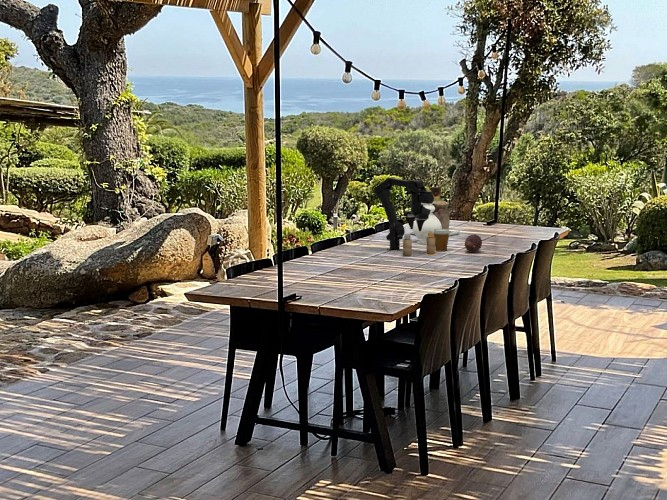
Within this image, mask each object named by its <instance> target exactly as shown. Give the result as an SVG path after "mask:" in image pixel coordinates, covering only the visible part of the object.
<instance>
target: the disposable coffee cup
mask: <svg viewBox="0 0 667 500" xmlns="http://www.w3.org/2000/svg"><path fill="white" fill-rule="evenodd" d="M449 231H450V229H449V230H448V229H434V232H433V233H434V237H435V252H447V250H448V245H449V237H450V236H449V233H450V232H449Z"/></svg>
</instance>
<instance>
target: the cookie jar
mask: <svg viewBox="0 0 667 500" xmlns="http://www.w3.org/2000/svg"><path fill="white" fill-rule="evenodd" d="M426 190H427V189H426ZM429 191H431V192H432V194H433V196H434V201H433V202H434V203H433V204H432V205H433V206H434V207H435V210H434V211H433V212H432V213H433V214H434V215H435V216H436V217H437V218H438V220H439V221H440V223H441V226H442V229H448V230H449V232H450V233H449V237H450V236H454V235H459V234H460V233H461V230H455V231H454V230H451V231H450V224H451V223H450V214H449V213H450V212H449V206H450V202H447V201H445V200H443V199H442V198H441V197H442V194H443V193H442V185H439V186H432V187H429V188H428V190H427V192H429ZM421 204H422V203H421ZM422 205H423V204H422ZM409 234H410V235H415V234H414V232H409Z"/></svg>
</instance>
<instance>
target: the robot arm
mask: <svg viewBox="0 0 667 500" xmlns="http://www.w3.org/2000/svg"><path fill="white" fill-rule="evenodd" d="M393 186H395V187H400V188H401V187H402V188H406V189H407V190H409V191H408V192H407V194H408V195H410V204H409V207H410V210H405V211H404V212H403V217H404V218H405V219H406V222H407V224H408V226H409V228H410V230H412V229H413V224H414V221H415V220H416V222H417V226H418V230H419V231H421V229H422V226H423V224H424V222H425V221H426V220H427V219H429V214H430V211H431V210H430V209H427V208H425V207H424V206H423V205H422V203H427V204H432V203H433V201H434V196H433V194H432V192H431V191H429V192H427V189H426V187H425V185H424V182H423V181H422V180H421V179H413V180H408V179H400V178H396V177H395V178H394V177H387V178H386V179H385V180H384V181H382V182H381V183H379V184H378V185H376V186H375V188H374V191H373V192H374V194H375V196H376V197H377V198H378V200H380V201H381V204H382V207H383V209H384V212H385V215H386V218H387V220H388V223H389V225H388V231H389V232H388V234H387V235H386V237H385V238H386V240H387V241H389V248H387V249H386V250H388V251H389V252H392V251H403V248H402V249H401V248H400V240H403V239H404V235H405V234H406V232H405V231H406V228H405V227H404V223H403V222H399V221H398V218H397V216H396V213H395V210H394V207H393V205H392V202H391V199H390V197H391V191H390V190H392V188H393Z"/></svg>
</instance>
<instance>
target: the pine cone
mask: <svg viewBox="0 0 667 500" xmlns="http://www.w3.org/2000/svg"><path fill="white" fill-rule="evenodd" d="M482 246H483V240H482V239H481V236H479V235H477V234H470V235H468V236H467V237H466V238H465V240H464V247H465V249H466V251H468V252H471V253H476V252H477V251H480V249H481V248H482Z"/></svg>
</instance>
